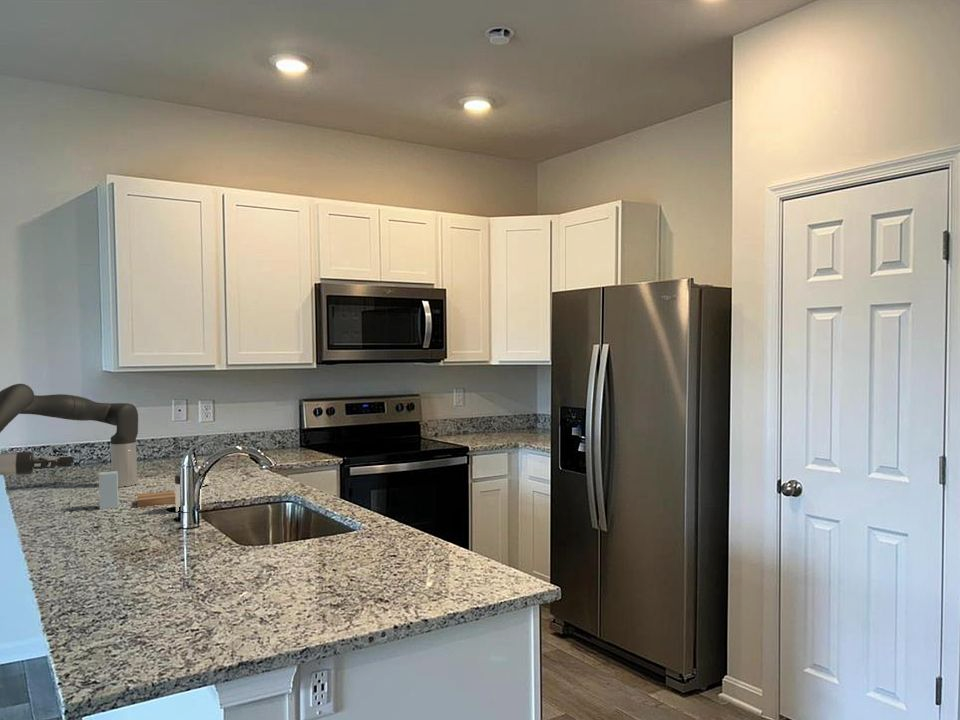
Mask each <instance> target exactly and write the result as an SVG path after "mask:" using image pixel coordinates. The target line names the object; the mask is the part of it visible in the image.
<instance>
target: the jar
mask: <svg viewBox="0 0 960 720" xmlns="http://www.w3.org/2000/svg"><path fill="white" fill-rule="evenodd" d="M180 474H181V473H178V474H175V475H174V483H175V484H174V492H175V513H179V512H178V511H179V507H180ZM201 510H202V488H201V489H200V510H199V511H201Z"/></svg>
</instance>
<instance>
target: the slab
mask: <svg viewBox="0 0 960 720" xmlns="http://www.w3.org/2000/svg"><path fill="white" fill-rule="evenodd" d="M136 500H137V502H136V503H137V508H138V507H140V508H146V506H150V507H156V506H155V505H160V506H165V505H164V504H169V505H176V500H175V490H169V491H157V492H149V493H138V494H137V499H136Z"/></svg>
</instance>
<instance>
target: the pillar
mask: <svg viewBox="0 0 960 720" xmlns="http://www.w3.org/2000/svg"><path fill="white" fill-rule="evenodd" d="M98 491H99V492H98V496H99V510H100V509H103V510H109V508H112V509H118V508H119V505H120V503H119V487H118V471H112V470H111V471H102V472H99V473H98Z"/></svg>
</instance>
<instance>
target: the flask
mask: <svg viewBox="0 0 960 720" xmlns="http://www.w3.org/2000/svg"><path fill="white" fill-rule="evenodd" d="M196 461H197V463H196V465H197V464H198V466H200V465H201V464H202V463H203V461H204V459H201V460H196ZM209 482H210V483H211V481H210V479H209V476H208V474H207V475H206V477H205V480H204V484H206V483H209Z"/></svg>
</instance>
